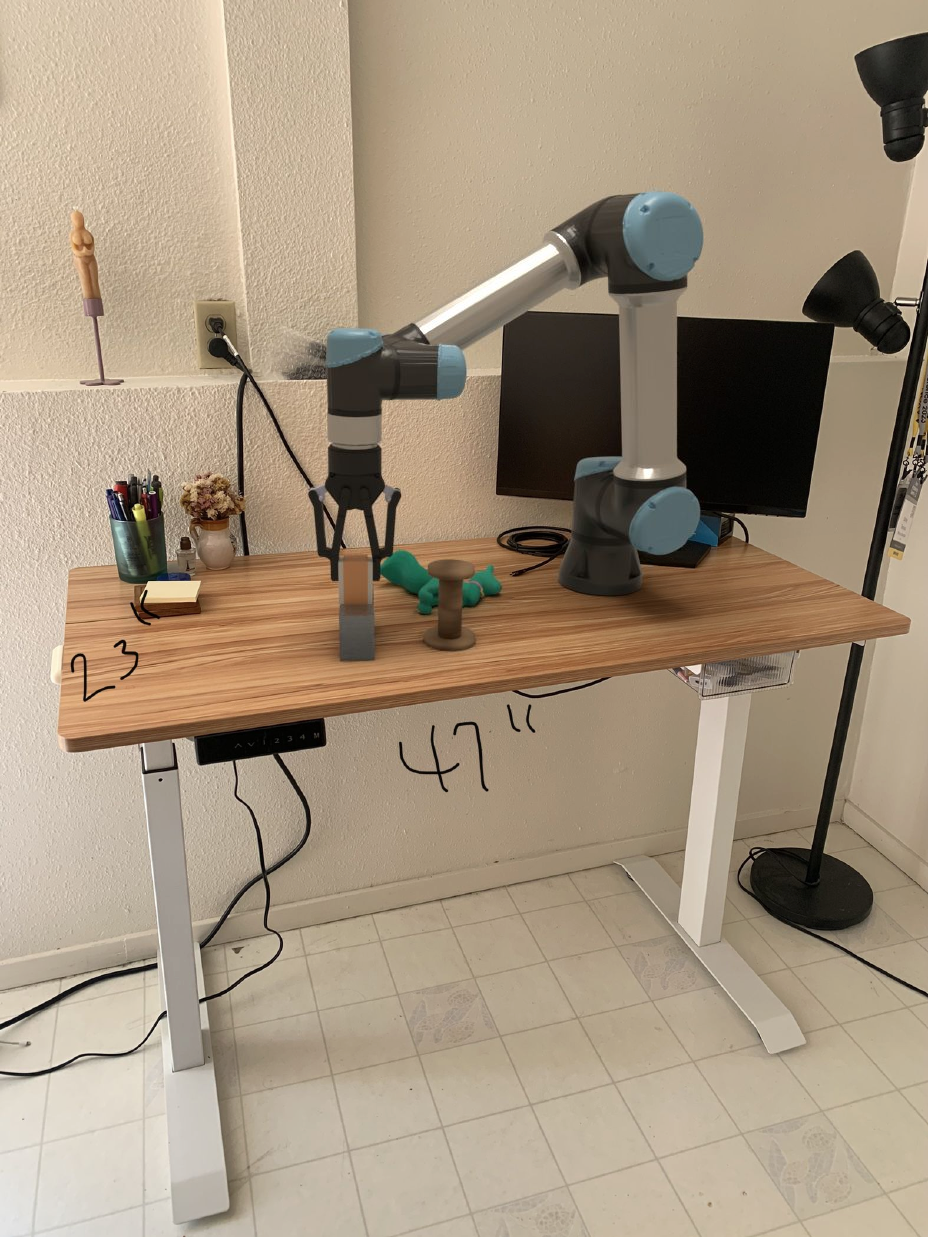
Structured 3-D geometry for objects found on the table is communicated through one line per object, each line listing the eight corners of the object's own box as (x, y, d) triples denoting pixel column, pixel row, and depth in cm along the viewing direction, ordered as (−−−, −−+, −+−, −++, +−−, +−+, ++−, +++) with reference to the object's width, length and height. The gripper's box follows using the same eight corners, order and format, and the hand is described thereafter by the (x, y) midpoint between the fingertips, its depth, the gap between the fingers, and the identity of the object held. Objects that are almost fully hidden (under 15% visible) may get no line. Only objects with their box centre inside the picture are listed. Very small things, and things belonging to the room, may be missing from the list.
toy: (484, 597, 148) (511, 558, 166) (357, 571, 152) (397, 536, 170) (479, 635, 151) (507, 593, 168) (354, 609, 155) (394, 570, 173)
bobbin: (472, 630, 146) (475, 558, 142) (478, 650, 139) (481, 574, 134) (421, 631, 145) (422, 558, 141) (425, 651, 138) (426, 575, 134)
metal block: (373, 624, 147) (373, 583, 145) (374, 660, 134) (374, 615, 132) (342, 625, 147) (341, 583, 144) (339, 660, 134) (338, 615, 131)
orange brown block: (367, 606, 137) (367, 561, 135) (343, 606, 137) (343, 561, 134) (367, 598, 140) (367, 554, 138) (344, 598, 140) (343, 554, 137)
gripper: (412, 440, 134) (410, 592, 142) (296, 438, 132) (301, 592, 141) (415, 449, 127) (412, 609, 136) (292, 447, 125) (297, 610, 134)
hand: (355, 600), depth 138 cm, fingers closed on orange brown block, 3 cm apart
